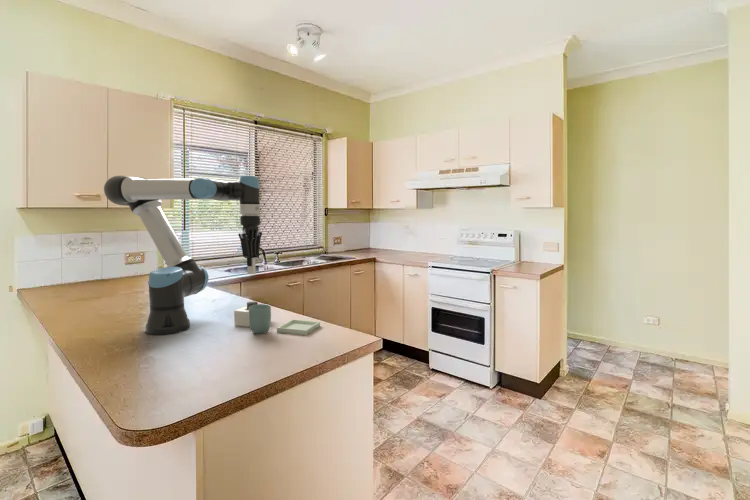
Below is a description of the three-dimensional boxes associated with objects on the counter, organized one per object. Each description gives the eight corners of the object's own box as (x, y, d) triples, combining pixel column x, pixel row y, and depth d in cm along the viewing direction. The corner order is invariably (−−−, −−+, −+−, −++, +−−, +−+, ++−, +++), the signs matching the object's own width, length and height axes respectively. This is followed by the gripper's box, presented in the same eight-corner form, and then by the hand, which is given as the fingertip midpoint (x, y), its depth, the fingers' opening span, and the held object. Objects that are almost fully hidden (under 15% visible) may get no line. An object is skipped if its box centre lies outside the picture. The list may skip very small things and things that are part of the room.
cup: (265, 336, 143) (264, 309, 142) (245, 334, 145) (245, 308, 144) (274, 330, 151) (274, 304, 150) (256, 328, 152) (255, 303, 151)
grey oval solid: (245, 317, 158) (244, 303, 158) (251, 315, 162) (250, 301, 162) (254, 318, 157) (253, 304, 157) (259, 316, 161) (259, 301, 161)
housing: (234, 325, 157) (234, 310, 156) (249, 318, 166) (248, 305, 166) (256, 327, 154) (256, 312, 153) (270, 320, 163) (269, 306, 163)
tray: (277, 332, 148) (276, 327, 148) (292, 323, 160) (292, 319, 159) (306, 335, 145) (306, 330, 144) (320, 326, 156) (320, 321, 156)
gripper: (248, 215, 149) (250, 276, 151) (267, 215, 161) (268, 271, 163) (231, 215, 151) (233, 275, 153) (251, 215, 163) (252, 271, 165)
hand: (251, 273), depth 158 cm, fingers closed
